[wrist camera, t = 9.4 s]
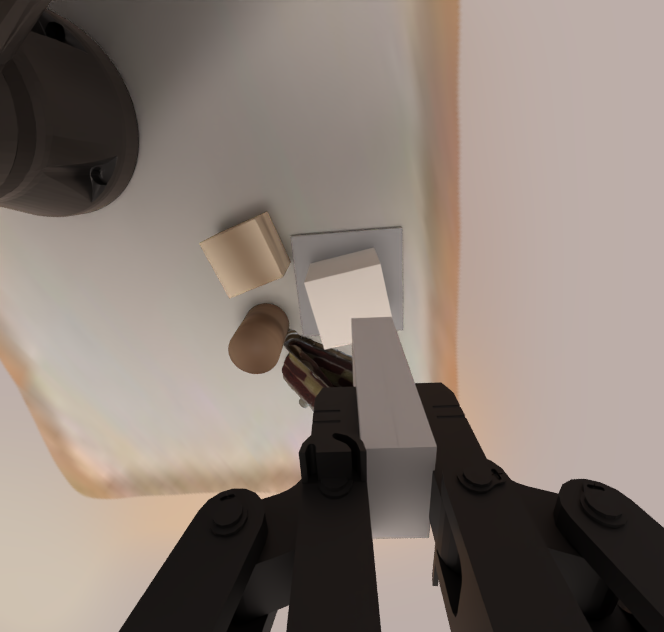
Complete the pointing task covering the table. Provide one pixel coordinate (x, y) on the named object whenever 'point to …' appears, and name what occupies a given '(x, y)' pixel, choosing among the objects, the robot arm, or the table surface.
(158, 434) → the table surface
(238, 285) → the beech cube
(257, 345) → the walnut cylinder
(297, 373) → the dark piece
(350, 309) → the plain block
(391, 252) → the mat
